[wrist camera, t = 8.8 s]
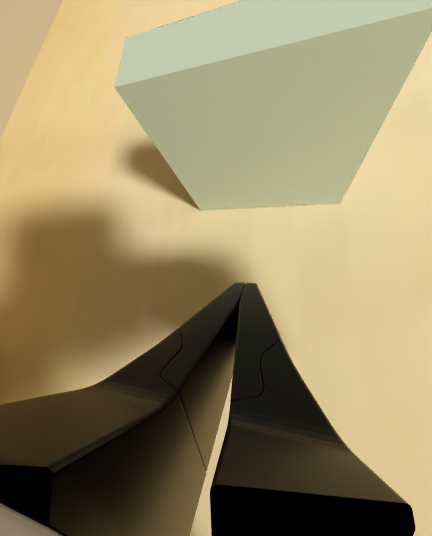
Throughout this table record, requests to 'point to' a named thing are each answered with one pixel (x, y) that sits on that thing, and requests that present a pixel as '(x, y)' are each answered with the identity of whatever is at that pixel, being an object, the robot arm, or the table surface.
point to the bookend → (272, 94)
